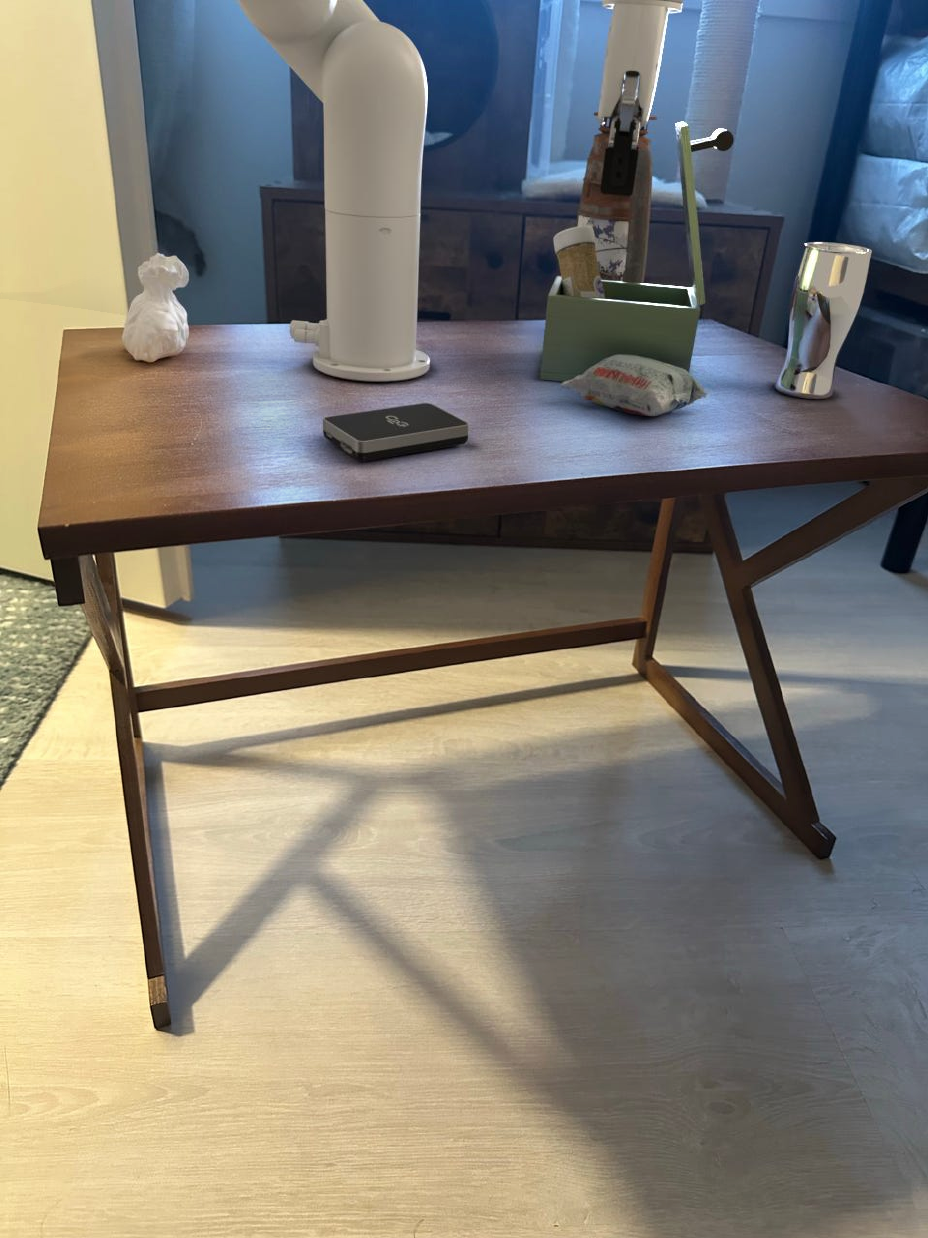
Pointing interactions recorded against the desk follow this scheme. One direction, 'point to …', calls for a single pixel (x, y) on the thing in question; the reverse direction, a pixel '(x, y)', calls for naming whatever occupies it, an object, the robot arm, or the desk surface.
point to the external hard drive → (395, 431)
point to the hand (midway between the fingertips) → (616, 190)
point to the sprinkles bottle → (578, 262)
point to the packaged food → (637, 385)
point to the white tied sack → (157, 311)
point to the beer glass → (822, 316)
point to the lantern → (619, 210)
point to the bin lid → (721, 142)
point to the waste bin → (617, 327)
